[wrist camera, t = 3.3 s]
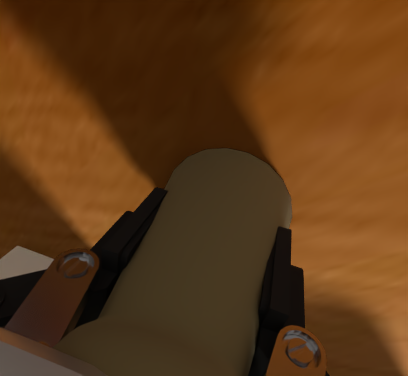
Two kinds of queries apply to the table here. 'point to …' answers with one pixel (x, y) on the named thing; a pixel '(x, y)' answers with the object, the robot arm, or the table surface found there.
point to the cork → (193, 275)
